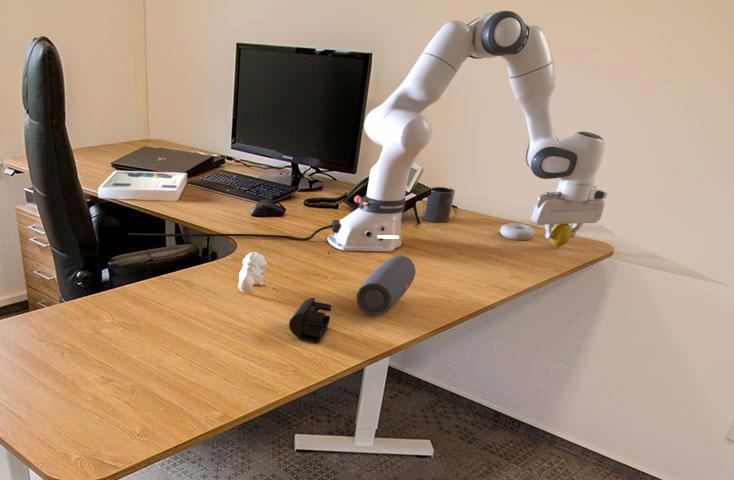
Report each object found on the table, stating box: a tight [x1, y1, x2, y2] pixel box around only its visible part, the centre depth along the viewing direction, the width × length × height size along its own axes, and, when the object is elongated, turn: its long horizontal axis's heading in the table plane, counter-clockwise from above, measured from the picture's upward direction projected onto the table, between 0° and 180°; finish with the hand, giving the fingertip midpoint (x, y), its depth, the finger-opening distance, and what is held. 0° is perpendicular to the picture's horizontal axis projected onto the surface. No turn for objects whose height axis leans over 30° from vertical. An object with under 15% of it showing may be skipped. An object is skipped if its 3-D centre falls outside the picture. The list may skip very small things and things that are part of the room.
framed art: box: [97, 170, 188, 202], centre depth 273 cm, size 30×4×30 cm
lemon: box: [549, 224, 572, 249], centre depth 207 cm, size 6×6×8 cm
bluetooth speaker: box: [355, 255, 416, 317], centre depth 169 cm, size 23×9×10 cm, turn 148°
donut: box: [499, 222, 536, 241], centre depth 218 cm, size 10×4×10 cm
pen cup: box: [423, 186, 456, 224], centre depth 234 cm, size 8×8×10 cm
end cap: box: [288, 297, 332, 344], centre depth 156 cm, size 10×7×7 cm
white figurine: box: [237, 251, 268, 295], centre depth 180 cm, size 6×8×12 cm
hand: (559, 237), depth 208 cm, fingers closed on lemon, 5 cm apart
